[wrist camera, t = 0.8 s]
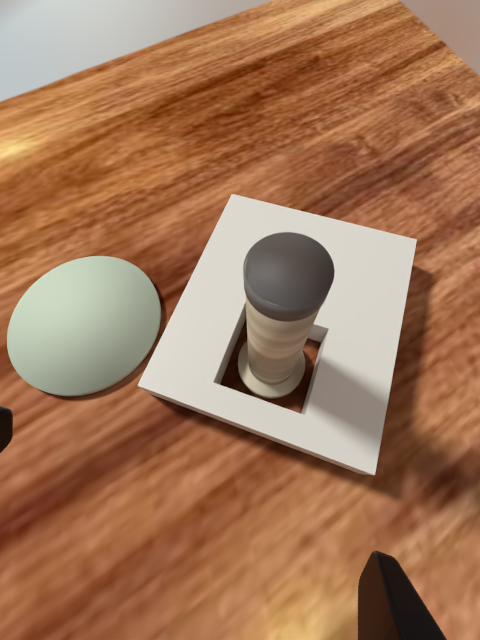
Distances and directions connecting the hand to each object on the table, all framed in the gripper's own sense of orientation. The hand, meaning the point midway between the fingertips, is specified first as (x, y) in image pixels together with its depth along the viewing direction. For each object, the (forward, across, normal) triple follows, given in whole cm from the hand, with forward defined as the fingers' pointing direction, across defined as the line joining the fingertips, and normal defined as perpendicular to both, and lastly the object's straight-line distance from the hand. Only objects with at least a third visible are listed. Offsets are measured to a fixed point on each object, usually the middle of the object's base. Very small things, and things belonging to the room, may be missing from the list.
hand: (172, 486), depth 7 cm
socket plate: (+17, -1, 0) cm, 17 cm away
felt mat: (+14, +13, +4) cm, 19 cm away
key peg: (+15, -1, +3) cm, 15 cm away
